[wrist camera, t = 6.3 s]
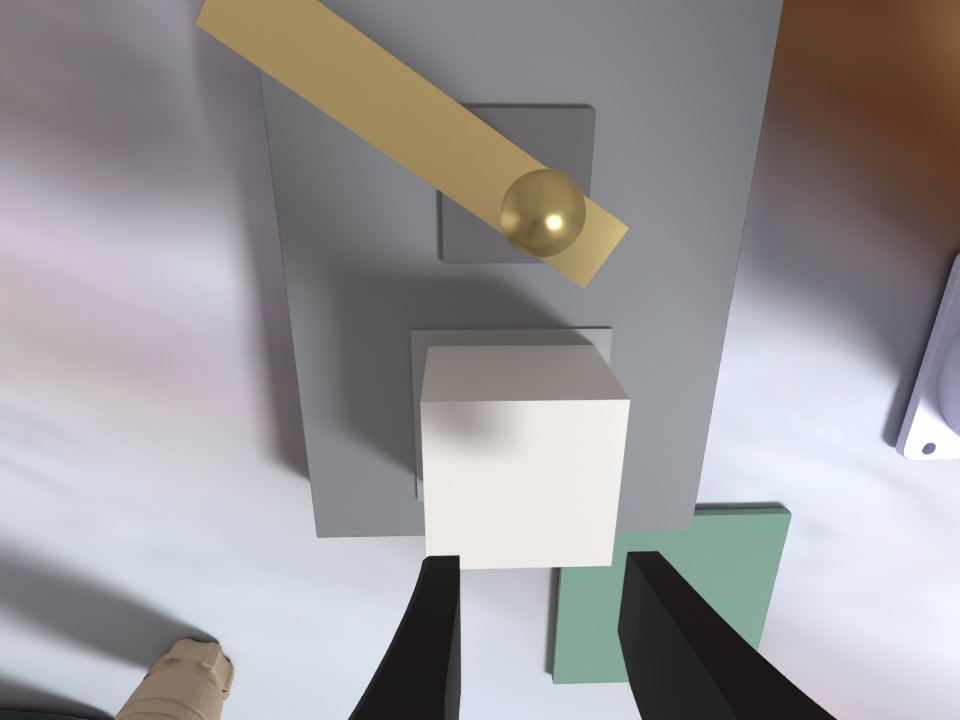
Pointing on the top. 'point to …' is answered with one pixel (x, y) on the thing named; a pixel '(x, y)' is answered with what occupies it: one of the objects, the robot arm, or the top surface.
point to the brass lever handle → (419, 128)
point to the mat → (703, 564)
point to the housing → (494, 261)
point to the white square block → (522, 455)
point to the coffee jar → (32, 716)
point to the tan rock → (182, 685)
